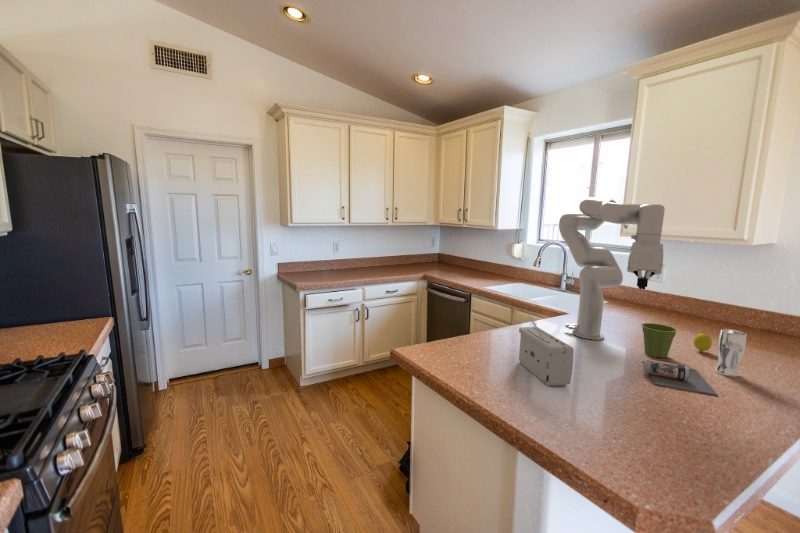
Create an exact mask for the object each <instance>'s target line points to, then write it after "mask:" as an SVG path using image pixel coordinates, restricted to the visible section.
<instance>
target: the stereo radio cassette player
mask: <svg viewBox="0 0 800 533" xmlns="http://www.w3.org/2000/svg"><path fill="white" fill-rule="evenodd" d="M524 311H525V312H526V314H527V316H528V318H529V319H530V321H531V323H532V324H533V326H532V327H531V326H525V327H521V326H520V327H519V329H518V333H519V334H520V338H519V339H520V341H519V351H518V352H519V353H518V360H519V361H518V362H519V363H520V364H521V365H522V366H524V368H526V369H527V370H528V371H529V372H531V373H532V374H533V375H535V377H537V378H538V379H539V380H540V381H542V382H543V383H544V384H545V385H546V386H547V387H554V386H555V387H559V386H563V387H564V386H565V387H566V386H567V385H570V384H571V380H572V374H573V366H574V354H575V353H574V347H573V346H571V345H570V344H568V343H566V342H564V341H563V340H560V339H559V338H557V337H555V336H554V335H552V334H550V333H548V332H547V331H545V330H543V328H542V329H541V328H540V327H538V326H537V325H536V323H535V322H534V320H533V319H532V317H531V316H530V314H529V312H527V309H525V310H524Z"/></svg>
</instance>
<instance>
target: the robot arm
mask: <svg viewBox="0 0 800 533" xmlns="http://www.w3.org/2000/svg"><path fill="white" fill-rule="evenodd" d="M578 207H579V211H580V212H577V211H576V212H575V211H574V212H573V211H571V212H567V213H564V214H563V215H561V217H560V218H559V221H558V228H559V229H558V230H559V233H560V236H561V237H562V239H563V240H564V242H565V243H566V245H567V247H568V249H569V251H570V254H571V255H572V258H573V260H574V262H575V263H576V265H577V266H578V267H580V268H582V269H581V270H580V272H579V277H578V278H579V290H580V291H579V303H578V310H577V311H578V312H577V322H575V323H573V324H571V323H565V328H567V329H569V330H572V335H574V336H575V335H576V336H575V337H578V336H579V337H578V338H580V337H582V338H581V339H584V338H586V340H590V339H592V340H593V341H599V340H601V341H602V340H603V339H604V338H605V335H604V334H603V333H602V332H601V329H602V320H603V312H604V311H603V310H604V302H605V300H604V299H605V298H604V294H603V292H602V290H601V289H603V288H605V289H606V288H616V287H619V286H620V285H622V283H623V281H624V279H623V278H624V277H623V276H624V275H623V273H622V270H621V268H620V266H619V264H618V262H617V260H616V259H615V257H614V255H613V253H612V252H611V250H610V249H608V248H606V247H601V246H592V245H591V244H590V243H589V241H588V238H587V237H586V236H585V235H584V234H583V233H581V232H580V231H589V232H591V231H594V230H597V229H598V228H600V226H602V225H603V223H605V222H607V223H611V224H616V225H636V233H635V234H632V235H630V239H632V240H634V241H633V242H632V245H631V247H630V251H629V254H628V255H629V256H628V261H627V268H626V271H627V272H628V273H632V274H634V275H635V276H636V277H637V282H636V287H637V288H638V289H639V290H646V288H647V287H648V282H649V279H650V278H652V277H653V276H655V275H662V270H663V266H664V244H663V243H661V240H662V232H663V223H664V217H665V209H666V208H665V206H664V205H662V204H651V203H650V204H637V203H636V204H635V203H617V202H616V201H615V200H614V199H613V198H609V197H597V196H596V197H594V196H593V197H592V196H590V197H585V198H583V200H582V201H580V203H579V206H578ZM642 271H645V273H644V275H643V273H642ZM592 340H591V341H592Z"/></svg>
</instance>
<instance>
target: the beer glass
mask: <svg viewBox="0 0 800 533" xmlns="http://www.w3.org/2000/svg"><path fill="white" fill-rule="evenodd" d="M746 345H747V333H746V332H744V331H739V330H736V329H729V328H722V329H720V332H719V336H718V340H717V357H718V358H717V365H716V367H715V368H714V370H715V372H716V373H718V374H720V375H723V376H726V377H731V378H737V377H739V366H740V361H741V360H742V357H743V355H744V352H745V350H746Z"/></svg>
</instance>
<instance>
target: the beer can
mask: <svg viewBox="0 0 800 533" xmlns="http://www.w3.org/2000/svg"><path fill="white" fill-rule="evenodd" d="M643 361H644V362H643V363H642V371H643V373H644V374H647V375H649V374H651V375H656V376H661V377H667V378H672V379H677V380H682V381H685V380H688V378H689V369H690V368H689V367H687V366H685V365H681V364H676V363H670V362H664V361H659V360H654V359H648V358H645V359H644V360H643Z"/></svg>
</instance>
